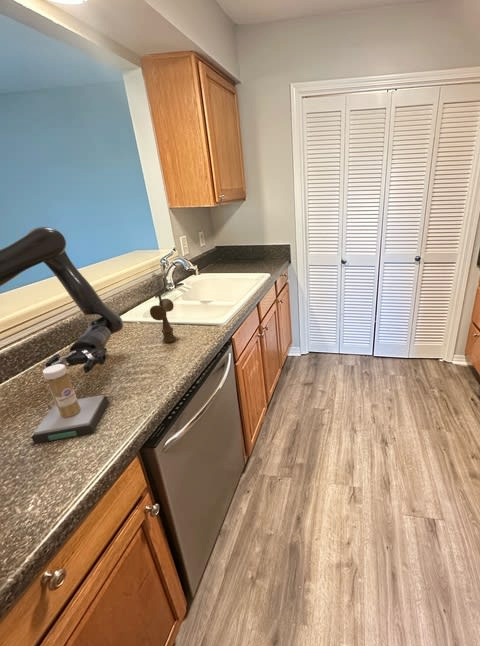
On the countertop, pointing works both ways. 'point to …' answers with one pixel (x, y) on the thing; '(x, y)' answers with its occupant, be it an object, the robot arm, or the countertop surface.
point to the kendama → (164, 317)
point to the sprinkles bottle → (62, 390)
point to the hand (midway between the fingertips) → (67, 372)
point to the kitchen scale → (71, 421)
